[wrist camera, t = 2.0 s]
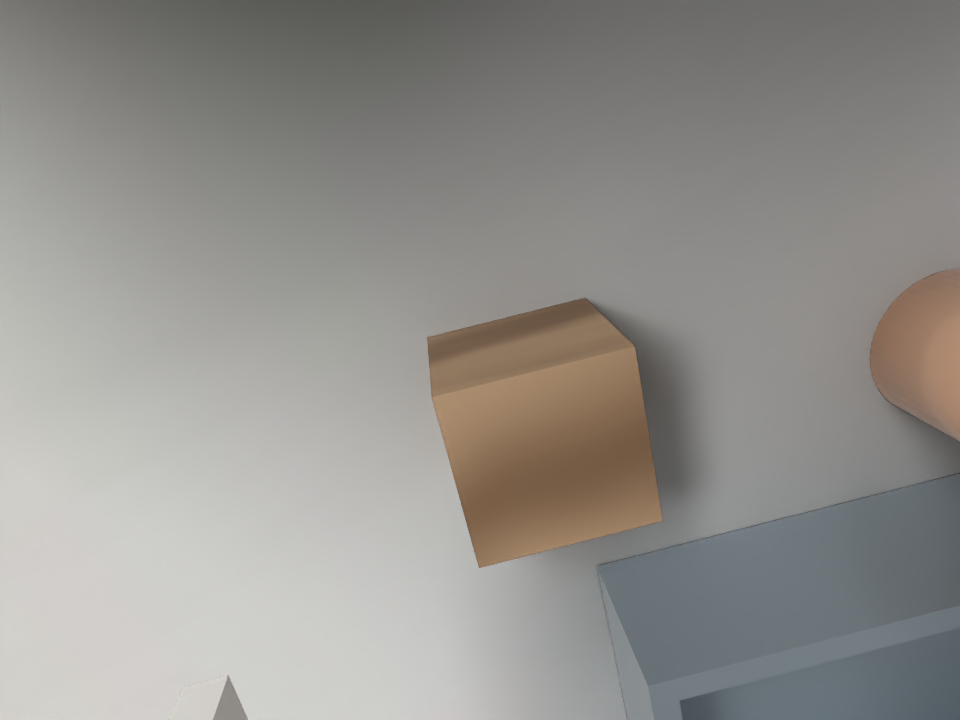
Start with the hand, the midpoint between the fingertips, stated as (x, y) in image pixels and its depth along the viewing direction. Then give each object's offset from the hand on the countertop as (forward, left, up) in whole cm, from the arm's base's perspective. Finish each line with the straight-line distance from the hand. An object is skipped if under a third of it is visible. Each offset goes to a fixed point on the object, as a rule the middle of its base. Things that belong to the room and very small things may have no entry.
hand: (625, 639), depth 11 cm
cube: (0, 0, -11) cm, 11 cm away
